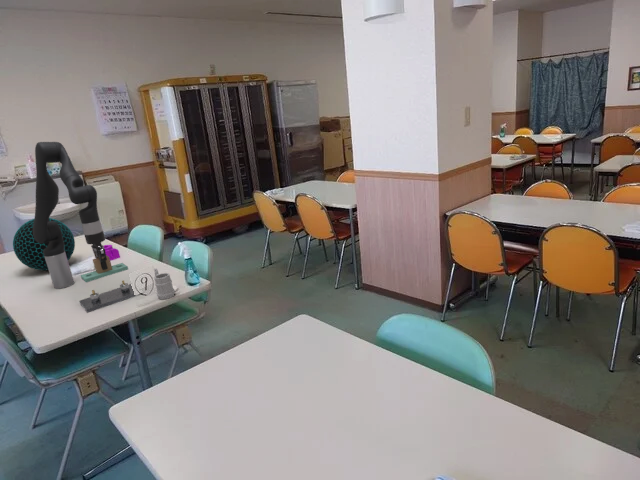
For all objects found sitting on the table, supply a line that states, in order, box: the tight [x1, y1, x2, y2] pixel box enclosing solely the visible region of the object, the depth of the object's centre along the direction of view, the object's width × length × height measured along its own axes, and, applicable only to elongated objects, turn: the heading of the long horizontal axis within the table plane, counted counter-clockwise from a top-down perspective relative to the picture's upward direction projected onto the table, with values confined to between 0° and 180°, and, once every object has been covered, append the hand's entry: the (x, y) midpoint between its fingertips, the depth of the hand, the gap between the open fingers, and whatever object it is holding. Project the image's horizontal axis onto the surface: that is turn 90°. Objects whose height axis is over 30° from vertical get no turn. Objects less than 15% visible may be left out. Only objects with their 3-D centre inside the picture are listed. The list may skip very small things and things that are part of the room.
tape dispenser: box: [102, 244, 121, 262], centre depth 268 cm, size 16×10×6 cm, turn 46°
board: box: [80, 255, 129, 283], centre depth 200 cm, size 18×8×8 cm, turn 130°
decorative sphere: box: [12, 217, 76, 271], centre depth 256 cm, size 30×30×30 cm
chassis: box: [78, 279, 136, 313], centre depth 204 cm, size 14×24×6 cm, turn 129°
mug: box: [153, 267, 176, 300], centre depth 200 cm, size 8×12×12 cm, turn 43°
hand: (103, 268), depth 200 cm, fingers closed on board, 4 cm apart
